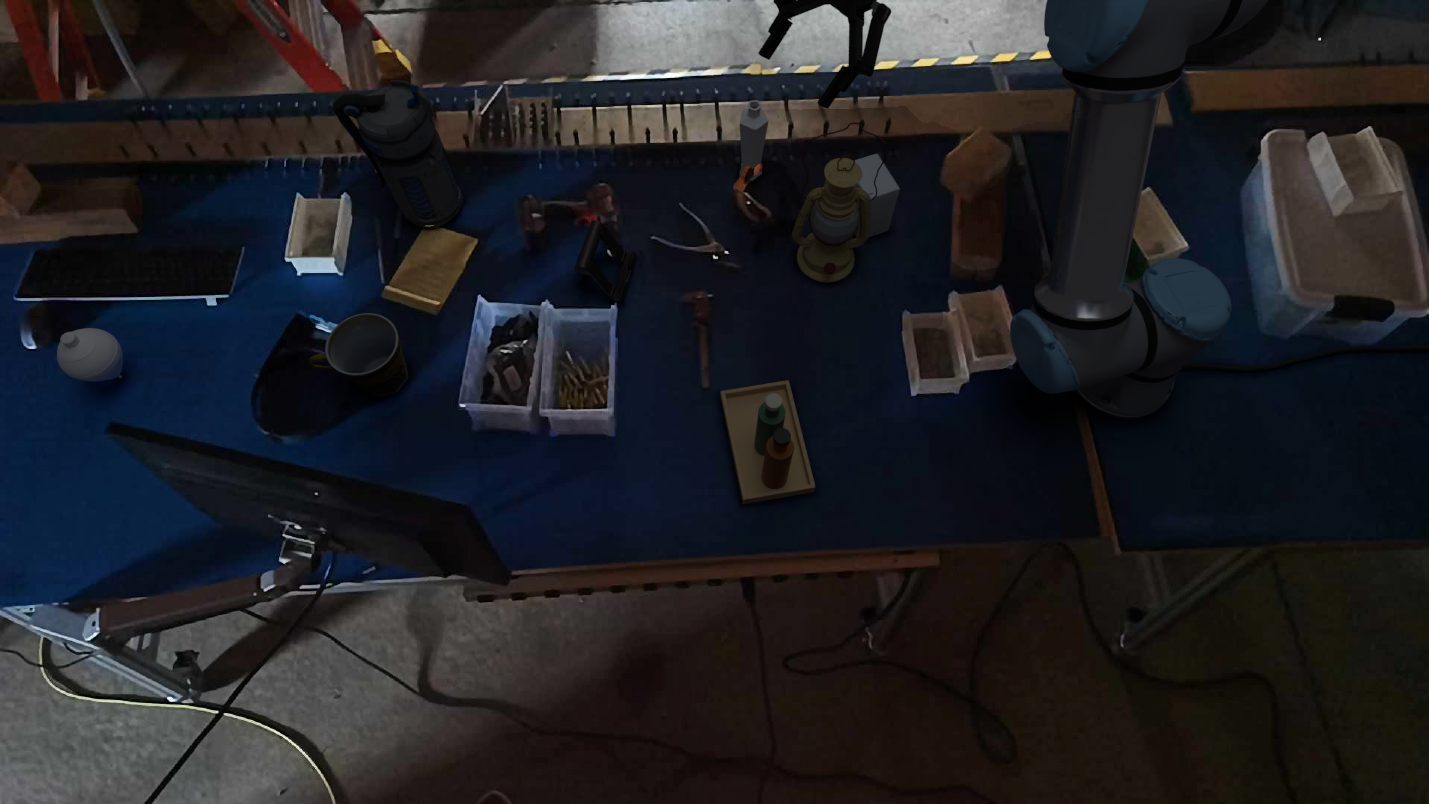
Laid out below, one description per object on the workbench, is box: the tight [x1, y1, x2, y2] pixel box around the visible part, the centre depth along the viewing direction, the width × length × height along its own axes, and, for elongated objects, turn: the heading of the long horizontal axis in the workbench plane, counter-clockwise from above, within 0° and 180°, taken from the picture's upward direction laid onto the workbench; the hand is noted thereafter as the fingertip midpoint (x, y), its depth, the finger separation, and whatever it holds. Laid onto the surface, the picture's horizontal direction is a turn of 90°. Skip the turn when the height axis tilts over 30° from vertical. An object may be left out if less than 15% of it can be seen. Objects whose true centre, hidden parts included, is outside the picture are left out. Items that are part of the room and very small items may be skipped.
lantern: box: [791, 121, 887, 283], centre depth 125 cm, size 12×10×30 cm
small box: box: [854, 153, 901, 238], centre depth 137 cm, size 8×6×10 cm
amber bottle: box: [762, 428, 794, 489], centre depth 115 cm, size 4×4×14 cm
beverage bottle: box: [332, 79, 464, 228], centre depth 131 cm, size 10×13×25 cm
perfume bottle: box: [739, 99, 770, 182], centre depth 139 cm, size 5×4×15 cm
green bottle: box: [754, 393, 786, 456], centre depth 117 cm, size 4×4×14 cm
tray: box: [719, 379, 816, 505], centre depth 123 cm, size 10×17×2 cm, turn 11°
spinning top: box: [56, 327, 124, 382], centre depth 123 cm, size 8×8×12 cm
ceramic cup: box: [308, 312, 409, 398], centre depth 124 cm, size 13×10×10 cm
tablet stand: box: [574, 220, 637, 304], centre depth 133 cm, size 9×8×8 cm
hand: (792, 81), depth 135 cm, fingers open, 13 cm apart
